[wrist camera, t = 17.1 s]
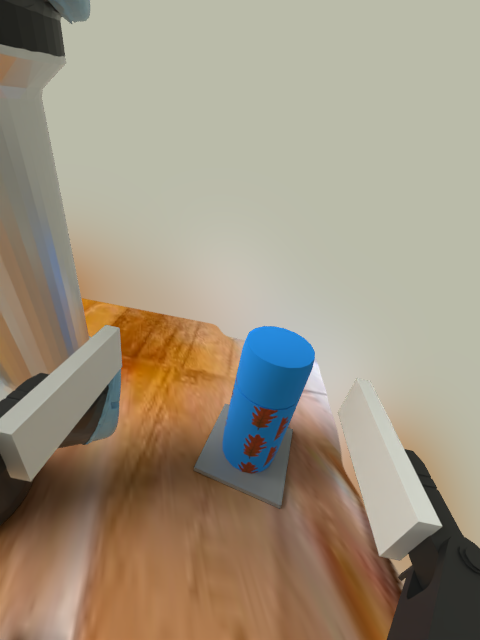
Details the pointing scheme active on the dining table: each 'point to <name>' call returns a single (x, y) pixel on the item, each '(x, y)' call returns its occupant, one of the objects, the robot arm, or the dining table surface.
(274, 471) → the slate tile
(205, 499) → the dining table surface
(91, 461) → the dining table surface
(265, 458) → the thermos
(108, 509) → the dining table surface
